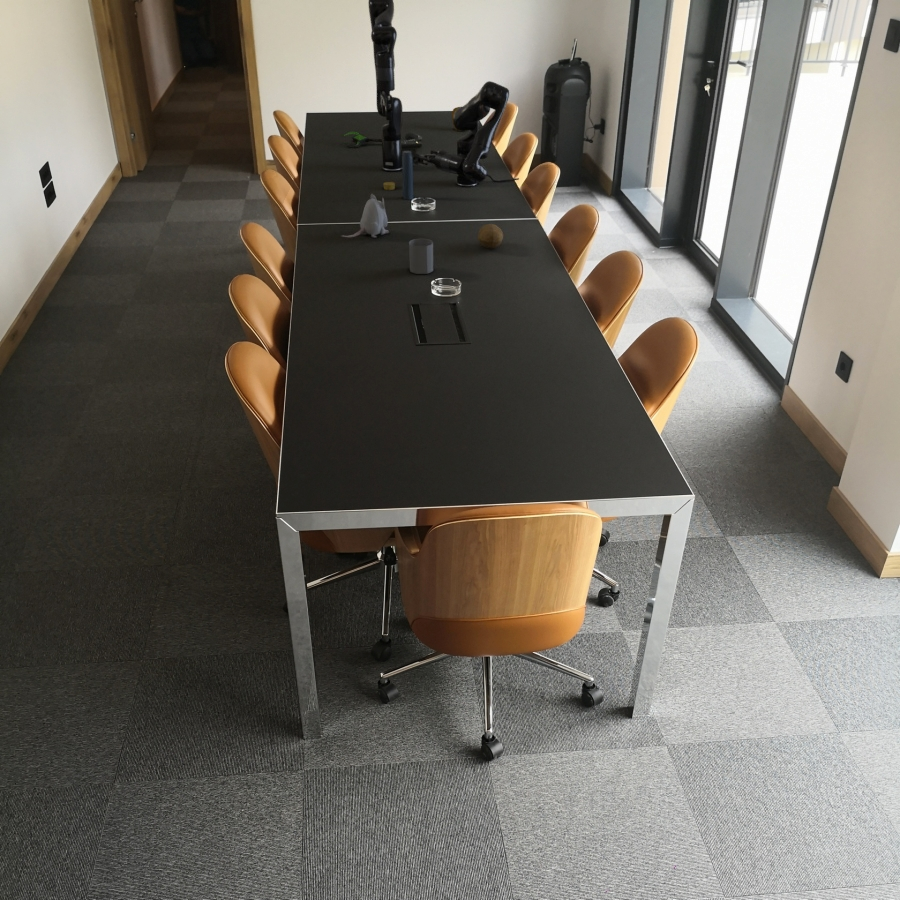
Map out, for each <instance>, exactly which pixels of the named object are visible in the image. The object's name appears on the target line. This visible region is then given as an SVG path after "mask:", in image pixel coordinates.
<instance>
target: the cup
mask: <svg viewBox="0 0 900 900" xmlns="http://www.w3.org/2000/svg"><path fill="white" fill-rule="evenodd" d="M408 253H409V272H411V273H412V274H416V275H426V274H430V273H432V272H434V241H433V240H431V239H428V238H422V237H421V238H420V237H419V238H414V239H411V240H410V241H409V242H408Z"/></svg>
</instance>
